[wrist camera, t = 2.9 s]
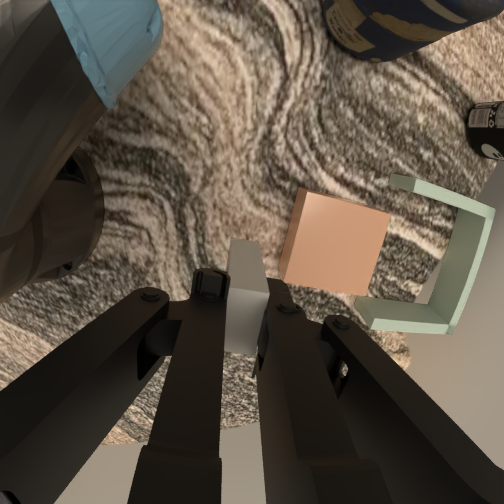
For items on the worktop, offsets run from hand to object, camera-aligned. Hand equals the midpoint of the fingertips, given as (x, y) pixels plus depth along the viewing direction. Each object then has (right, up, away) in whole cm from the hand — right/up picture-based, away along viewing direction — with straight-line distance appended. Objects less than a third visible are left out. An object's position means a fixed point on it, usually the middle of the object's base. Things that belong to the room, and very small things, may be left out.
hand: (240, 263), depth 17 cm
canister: (+12, +23, +6) cm, 27 cm away
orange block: (+8, +2, +13) cm, 15 cm away
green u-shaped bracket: (+18, +1, +14) cm, 23 cm away
